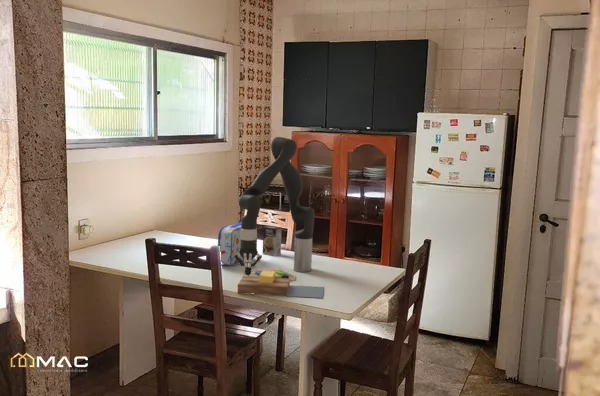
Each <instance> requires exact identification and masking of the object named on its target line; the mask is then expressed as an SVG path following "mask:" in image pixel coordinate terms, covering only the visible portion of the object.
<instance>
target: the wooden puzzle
mask: <svg viewBox="0 0 600 396" xmlns="http://www.w3.org/2000/svg"><path fill="white" fill-rule="evenodd" d="M262 271H263V270H255V271H254V272H251V274H250V275H246V276H251V277H260V274H261V272H262ZM266 271H275V278H290V282H294V281H295V282H296V281H297V277H296V276H295V275H293V274H291V273H289V272H286V271H285V270H282V269H271V270H269V269H268V270H266Z"/></svg>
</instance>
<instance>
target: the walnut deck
mask: <svg viewBox="0 0 600 396" xmlns="http://www.w3.org/2000/svg"><path fill="white" fill-rule="evenodd" d="M290 282H291V281H290V278H275V279H274V281H273V283H259V277H251V276H247V275H243V276H242V277H241V279H240V280H239V282H238V283H237V294H240V293H254V294H253V295H258V294H269V295H268V296H278V295H282V296H281V297H283V296H284V297H286V296H287V293H288V289H289V286H290V285H291V283H290ZM240 295H241V294H240Z"/></svg>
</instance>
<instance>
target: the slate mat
mask: <svg viewBox="0 0 600 396" xmlns="http://www.w3.org/2000/svg"><path fill="white" fill-rule="evenodd" d="M324 288H325V286H315V285H314V286H313V285H311V286H310V285H293V284H292V285H291V284H290V286H289V289H288V293H287V296H285V297H287V298H302V299H303V298H305V299H307V298H308V299H324Z"/></svg>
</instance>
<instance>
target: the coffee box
mask: <svg viewBox="0 0 600 396" xmlns="http://www.w3.org/2000/svg"><path fill="white" fill-rule="evenodd" d="M282 229H283V228H282V226H281V227H280V226H275V225H265V226H263V229H262V232H263V233H262V254H263V255H268V256H272V257H277V256H281V254H282Z"/></svg>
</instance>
